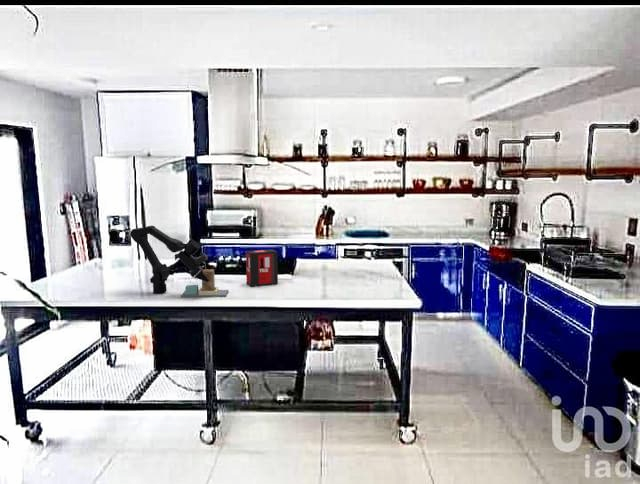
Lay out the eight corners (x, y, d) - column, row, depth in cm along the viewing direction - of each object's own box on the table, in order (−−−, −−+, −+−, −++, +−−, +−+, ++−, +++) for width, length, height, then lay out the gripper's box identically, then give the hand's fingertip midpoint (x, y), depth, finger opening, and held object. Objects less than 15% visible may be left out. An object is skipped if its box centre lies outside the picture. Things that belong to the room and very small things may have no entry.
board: (181, 297, 276) (180, 288, 275) (185, 292, 288) (184, 283, 287) (226, 296, 278) (226, 287, 277) (228, 291, 290) (228, 282, 289)
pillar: (202, 294, 279) (201, 271, 277) (203, 291, 285) (203, 269, 283) (213, 294, 280) (212, 271, 278) (214, 291, 285) (214, 269, 284)
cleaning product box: (272, 281, 314) (272, 249, 312) (277, 284, 307) (277, 251, 304) (246, 284, 307) (245, 251, 305) (251, 287, 300) (250, 253, 297)
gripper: (195, 252, 269) (217, 272, 272) (201, 246, 288) (221, 265, 290) (181, 267, 270) (203, 287, 272) (187, 260, 288) (207, 279, 291)
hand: (209, 279), depth 281 cm, fingers open, 9 cm apart
